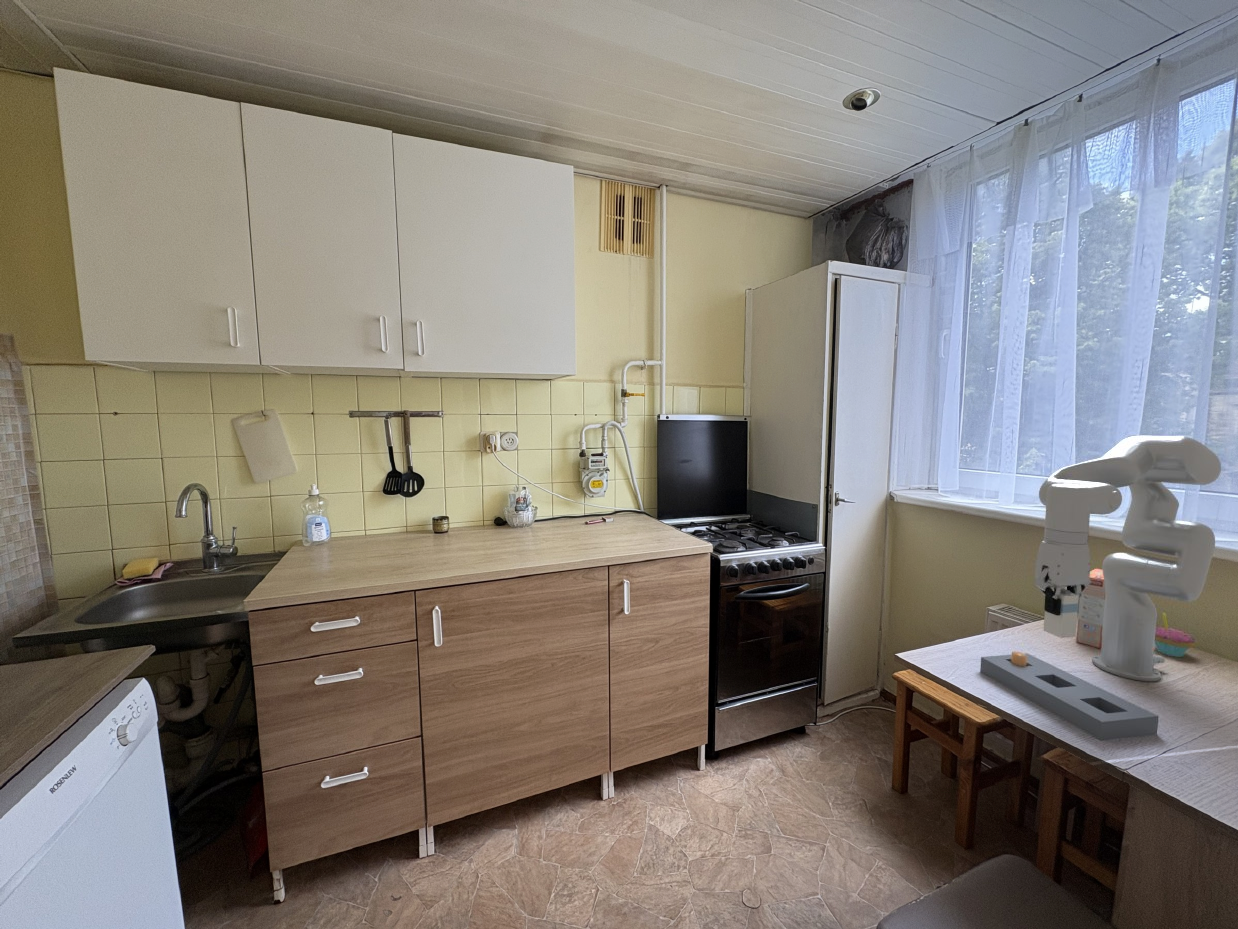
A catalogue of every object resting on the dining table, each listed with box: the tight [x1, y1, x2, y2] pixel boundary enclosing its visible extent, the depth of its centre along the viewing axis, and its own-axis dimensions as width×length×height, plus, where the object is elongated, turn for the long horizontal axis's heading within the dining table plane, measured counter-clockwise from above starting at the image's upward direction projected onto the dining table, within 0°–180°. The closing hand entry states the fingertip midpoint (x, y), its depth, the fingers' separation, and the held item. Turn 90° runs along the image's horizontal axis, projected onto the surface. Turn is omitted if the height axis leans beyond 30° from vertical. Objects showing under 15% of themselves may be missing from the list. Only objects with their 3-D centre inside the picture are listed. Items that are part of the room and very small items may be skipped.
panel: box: [979, 652, 1160, 741], centre depth 113 cm, size 14×28×4 cm, turn 8°
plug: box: [1043, 587, 1080, 639], centre depth 112 cm, size 4×4×11 cm
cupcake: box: [1154, 610, 1196, 658], centre depth 136 cm, size 9×8×12 cm
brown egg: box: [1011, 651, 1027, 667], centre depth 122 cm, size 3×3×6 cm
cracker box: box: [1075, 568, 1105, 650], centre depth 144 cm, size 14×6×21 cm, turn 123°
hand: (1061, 611), depth 112 cm, fingers closed on plug, 4 cm apart
